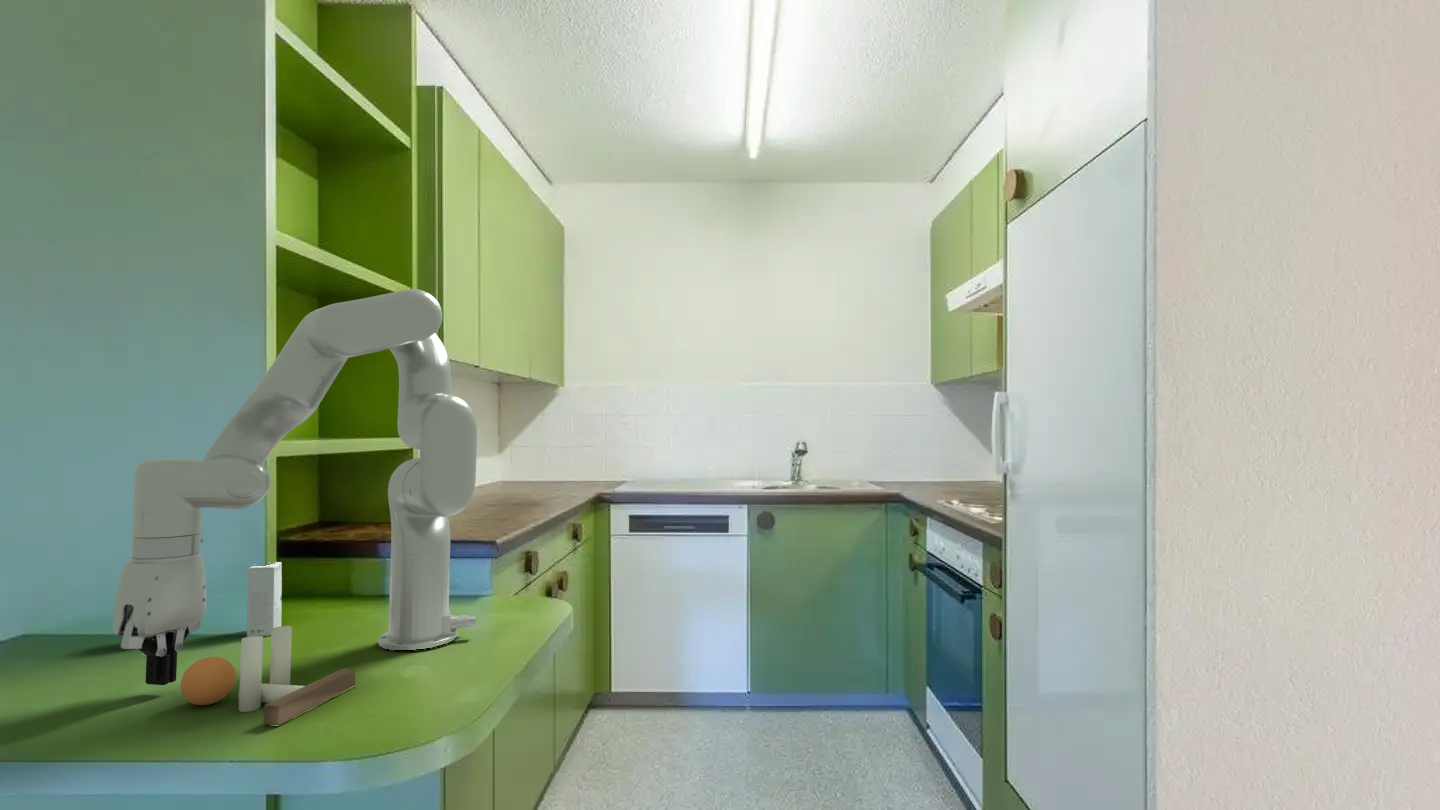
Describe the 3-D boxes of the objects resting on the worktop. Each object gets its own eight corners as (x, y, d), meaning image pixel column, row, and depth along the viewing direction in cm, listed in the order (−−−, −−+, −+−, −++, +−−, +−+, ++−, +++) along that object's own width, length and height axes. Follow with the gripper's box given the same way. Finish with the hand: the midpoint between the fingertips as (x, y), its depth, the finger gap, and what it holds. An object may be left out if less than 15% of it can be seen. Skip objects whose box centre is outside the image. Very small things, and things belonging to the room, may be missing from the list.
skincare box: (274, 635, 126) (276, 566, 127) (244, 638, 125) (247, 568, 125) (282, 626, 132) (284, 561, 133) (254, 629, 131) (256, 562, 131)
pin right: (291, 690, 99) (293, 625, 100) (287, 696, 97) (290, 629, 97) (271, 693, 98) (273, 626, 99) (267, 698, 96) (269, 631, 96)
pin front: (254, 690, 97) (315, 693, 96) (243, 705, 95) (304, 709, 94) (247, 678, 96) (308, 682, 95) (235, 694, 94) (297, 698, 93)
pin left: (262, 703, 94) (265, 635, 95) (258, 710, 92) (261, 639, 92) (241, 706, 93) (243, 636, 94) (236, 712, 91) (239, 641, 92)
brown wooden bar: (263, 725, 87) (264, 705, 87) (342, 686, 101) (342, 668, 101) (278, 727, 87) (279, 706, 87) (354, 687, 101) (355, 669, 101)
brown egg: (243, 647, 97) (223, 671, 99) (192, 647, 93) (172, 672, 95) (245, 689, 94) (224, 712, 96) (192, 691, 89) (171, 715, 91)
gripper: (191, 539, 107) (186, 664, 106) (87, 556, 92) (80, 700, 91) (235, 541, 105) (230, 667, 105) (137, 557, 91) (130, 704, 90)
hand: (160, 682), depth 98 cm, fingers closed
